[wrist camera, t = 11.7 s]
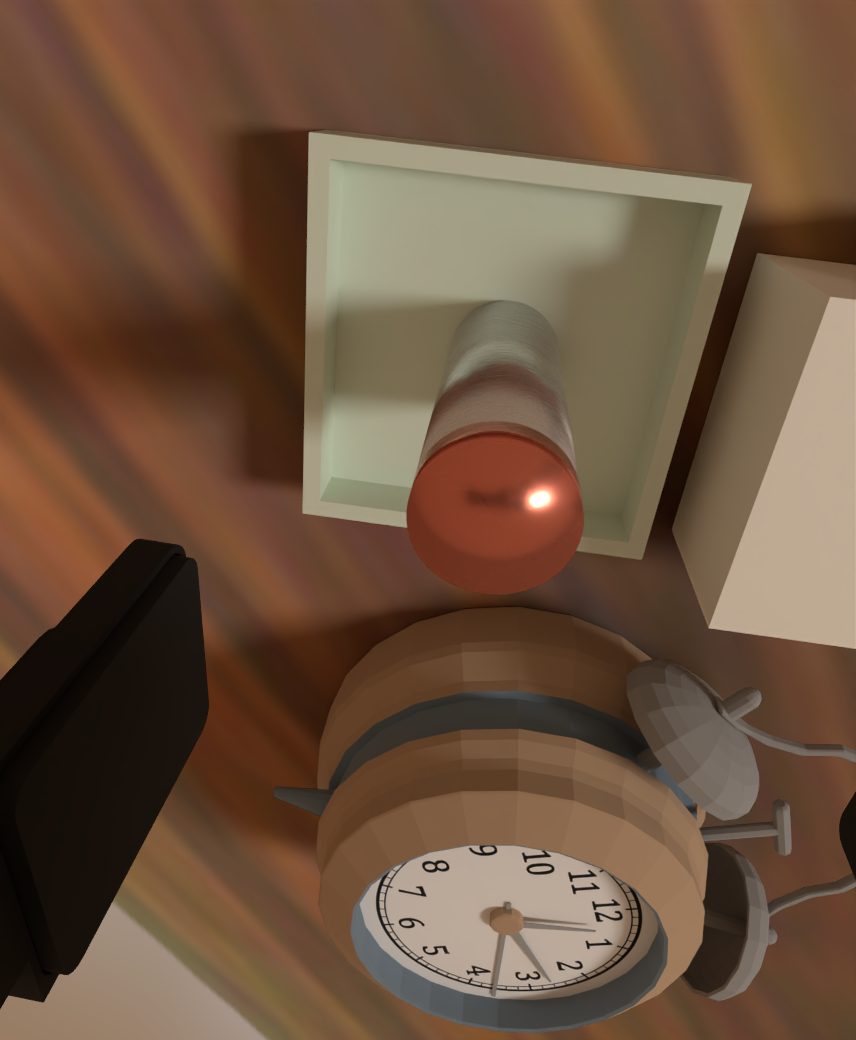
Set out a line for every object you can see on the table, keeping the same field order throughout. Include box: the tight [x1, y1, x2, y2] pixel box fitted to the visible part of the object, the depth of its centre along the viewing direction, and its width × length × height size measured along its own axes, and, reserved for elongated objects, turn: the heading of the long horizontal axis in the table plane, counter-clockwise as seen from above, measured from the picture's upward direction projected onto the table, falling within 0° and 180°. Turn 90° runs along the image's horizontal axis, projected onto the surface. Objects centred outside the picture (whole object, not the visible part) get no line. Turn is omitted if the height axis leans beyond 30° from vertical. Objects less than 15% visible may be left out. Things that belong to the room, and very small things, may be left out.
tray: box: [303, 130, 752, 560], centre depth 24 cm, size 12×12×2 cm
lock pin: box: [406, 301, 584, 595], centre depth 20 cm, size 4×4×11 cm
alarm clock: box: [273, 606, 856, 1033], centre depth 30 cm, size 17×9×23 cm
